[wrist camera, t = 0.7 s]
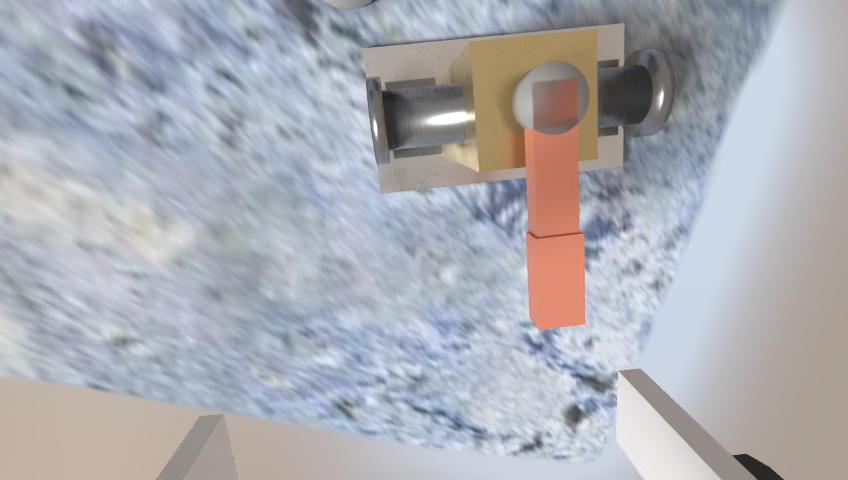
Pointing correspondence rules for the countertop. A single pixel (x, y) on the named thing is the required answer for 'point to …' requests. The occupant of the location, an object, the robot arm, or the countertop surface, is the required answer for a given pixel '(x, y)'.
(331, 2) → the cup
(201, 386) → the countertop surface
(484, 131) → the valve
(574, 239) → the lever
